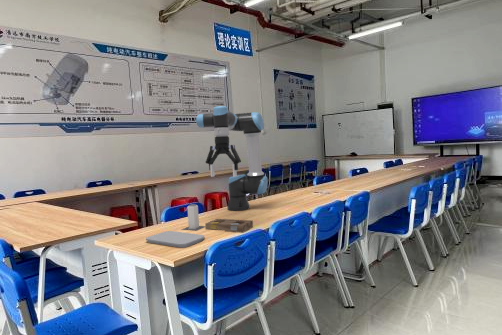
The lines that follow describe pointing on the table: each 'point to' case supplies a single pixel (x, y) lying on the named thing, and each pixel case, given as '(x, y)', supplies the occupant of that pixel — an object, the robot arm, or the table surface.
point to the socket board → (229, 225)
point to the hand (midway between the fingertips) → (223, 176)
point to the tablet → (175, 239)
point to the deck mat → (193, 229)
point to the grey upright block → (193, 216)
